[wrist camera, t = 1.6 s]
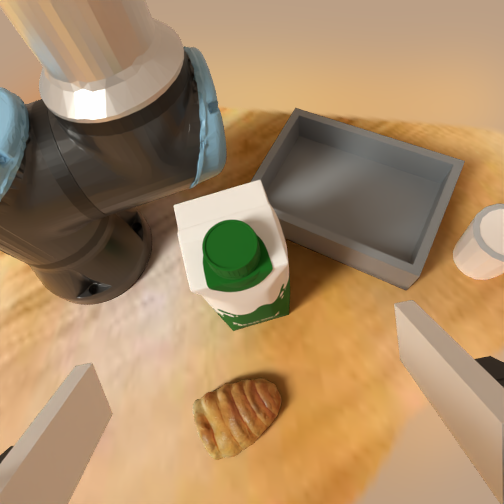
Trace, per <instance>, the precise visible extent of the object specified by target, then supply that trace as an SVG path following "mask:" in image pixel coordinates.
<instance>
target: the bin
mask: <svg viewBox="0 0 504 504" xmlns="http://www.w3.org/2000/svg"><path fill="white" fill-rule="evenodd" d="M464 162H465V161H463V160H460V159H457V158H453V157H450V156H447V155H444V154H441V153H437V152H434V151H431V150H428V149H425V148H422V147H418V146H415V145H412V144H409V143H406V142H402V141H399V140H396V139H393V138H390V137H387V136H383V135H380V134H377V133H374V132H371V131H368V130H364V129H361V128H358V127H355V126H352V125H348V124H345V123H342V122H339V121H336V120H333V119H329V118H326V117H323V116H320V115H317V114H313V113H310V112H307V111H304V110H301V109H297V108H295V110H294V111H293V113H292V114H291V116H290V118H289V119H288V121H287V123H286V124H285V126H284V128H283V129H282V131H281V133H280V134H279V136H278V137H277V139H276V141H275V142H274V144H273V146H272V147H271V149H270V151H269V152H268V154H267V156H266V157H265V159H264V161H263V162H262V164H261V165H260V167H259V169H258V170H257V172H256V174H255V175H254V177H253V179H252V180H251V182H253V181H257V180H261V182H262V185H263V187H264V190H265V193H266V195H267V198H268V201H269V203H270V205H271V206H272V208H273V209H274V211H275V213H276V215H277V217H278V219H279V222H280V225H281V228H282V232H283V235H284V238H285V239H287V240H290V241H292V242H294V243H297V244H299V245H301V246H304V247H306V248H308V249H311V250H313V251H315V252H318V253H320V254H322V255H325V256H327V257H329V258H332V259H334V260H336V261H339V262H341V263H343V264H346V265H348V266H350V267H353V268H355V269H357V270H360V271H362V272H364V273H367V274H369V275H371V276H374V277H376V278H378V279H381V280H383V281H385V282H388V283H390V284H392V285H395V286H397V287H399V288H402V289H404V290H407V289H408V288H409V287H410V286H411V285H412V284H413V283H414V282H415V281H416V280H417V279H418V278H419V277H420V274H421V272H422V269H423V266H424V264H425V261H426V259H427V256H428V254H429V251H430V249H431V246H432V244H433V241H434V238H435V236H436V233H437V231H438V228H439V226H440V223H441V221H442V218H443V216H444V213H445V210H446V208H447V205H448V203H449V200H450V198H451V195H452V193H453V190H454V188H455V185H456V183H457V180H458V177H459V175H460V172H461V170H462V167H463V165H464Z"/></svg>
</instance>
